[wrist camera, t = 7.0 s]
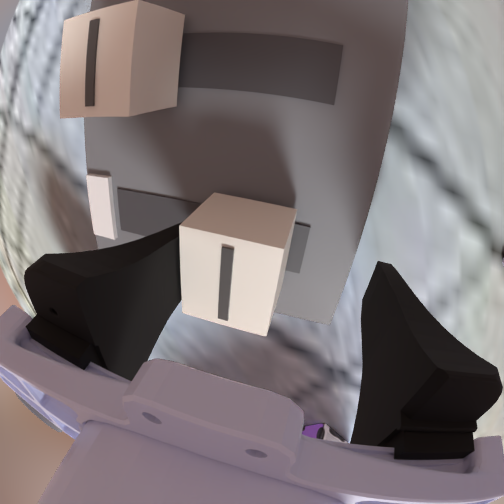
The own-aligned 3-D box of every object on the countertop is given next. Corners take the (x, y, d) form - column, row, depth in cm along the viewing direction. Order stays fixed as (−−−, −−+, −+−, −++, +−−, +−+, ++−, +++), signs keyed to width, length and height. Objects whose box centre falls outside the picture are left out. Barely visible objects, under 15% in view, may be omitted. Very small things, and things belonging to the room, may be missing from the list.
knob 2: (297, 209, 12) (283, 251, 9) (281, 287, 14) (265, 338, 11) (214, 192, 12) (177, 226, 10) (210, 270, 15) (181, 314, 12)
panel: (399, -97, 4) (406, -118, 2) (331, 300, 17) (329, 329, 15) (138, -92, 6) (116, -103, 5) (117, 246, 19) (97, 264, 17)
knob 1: (184, 14, 9) (136, -1, 6) (176, 106, 11) (127, 117, 8) (116, 24, 9) (62, 20, 7) (111, 105, 11) (58, 118, 9)
